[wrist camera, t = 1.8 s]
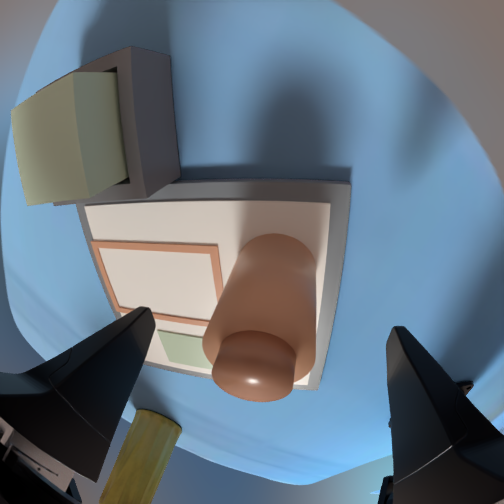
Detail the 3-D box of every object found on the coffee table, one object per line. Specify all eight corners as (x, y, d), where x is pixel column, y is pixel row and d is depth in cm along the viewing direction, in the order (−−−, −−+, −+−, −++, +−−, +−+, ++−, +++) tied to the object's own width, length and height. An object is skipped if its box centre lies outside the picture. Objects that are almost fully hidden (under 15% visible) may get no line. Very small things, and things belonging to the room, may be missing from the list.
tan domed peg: (318, 235, 11) (322, 347, 6) (313, 302, 13) (307, 413, 8) (234, 231, 12) (179, 333, 7) (240, 297, 14) (203, 400, 8)
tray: (349, 181, 10) (352, 186, 10) (318, 384, 17) (317, 392, 17) (78, 190, 13) (70, 194, 12) (140, 358, 20) (136, 364, 19)
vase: (140, 403, 25) (93, 503, 13) (188, 426, 26) (151, 528, 14) (134, 415, 29) (94, 499, 16) (175, 435, 29) (142, 520, 17)
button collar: (170, 55, 9) (130, 45, 6) (181, 176, 12) (146, 198, 9) (78, 87, 10) (35, 92, 7) (91, 184, 13) (53, 206, 10)
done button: (136, 73, 8) (73, 72, 5) (145, 168, 10) (89, 198, 7) (69, 99, 9) (10, 110, 6) (80, 177, 11) (27, 205, 8)
